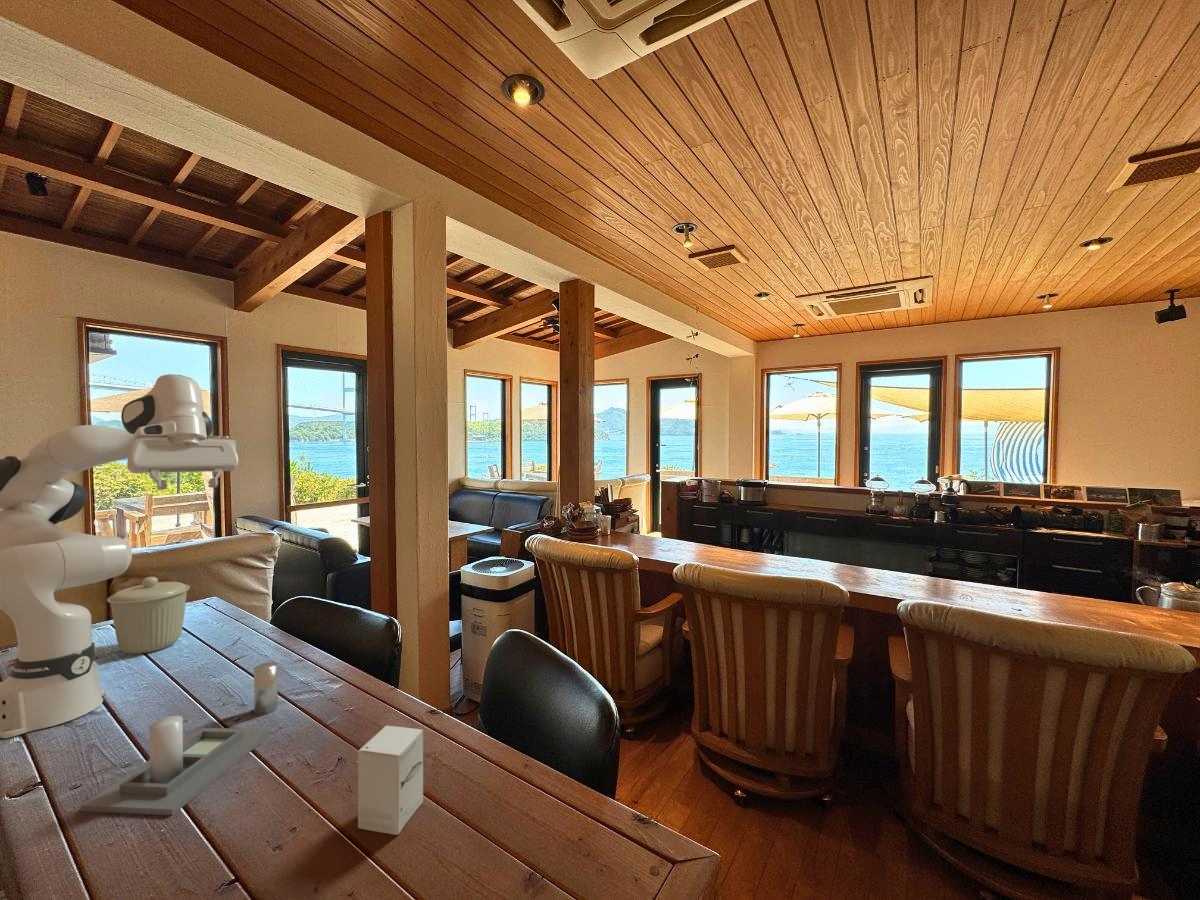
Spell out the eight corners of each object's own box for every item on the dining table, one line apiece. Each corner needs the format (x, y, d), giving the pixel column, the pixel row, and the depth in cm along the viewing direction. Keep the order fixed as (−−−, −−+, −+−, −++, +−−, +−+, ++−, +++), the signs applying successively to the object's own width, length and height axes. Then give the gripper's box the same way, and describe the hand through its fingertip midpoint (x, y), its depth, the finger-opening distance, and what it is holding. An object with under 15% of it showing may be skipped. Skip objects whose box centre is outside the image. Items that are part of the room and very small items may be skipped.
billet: (249, 715, 109) (248, 670, 109) (264, 704, 113) (263, 661, 113) (268, 715, 109) (267, 671, 108) (282, 704, 113) (281, 662, 113)
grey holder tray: (80, 811, 80) (79, 745, 80) (198, 732, 102) (197, 680, 102) (172, 815, 79) (171, 749, 79) (270, 734, 101) (270, 682, 101)
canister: (156, 633, 155) (155, 568, 155) (206, 636, 153) (205, 570, 153) (89, 658, 137) (88, 584, 137) (144, 662, 135) (143, 587, 135)
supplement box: (398, 836, 75) (397, 756, 75) (356, 829, 77) (355, 750, 76) (424, 802, 82) (424, 728, 82) (386, 795, 84) (385, 723, 84)
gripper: (231, 441, 128) (238, 490, 124) (124, 439, 112) (127, 495, 108) (238, 430, 125) (245, 480, 121) (128, 427, 109) (132, 484, 105)
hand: (188, 487), depth 115 cm, fingers open, 8 cm apart
